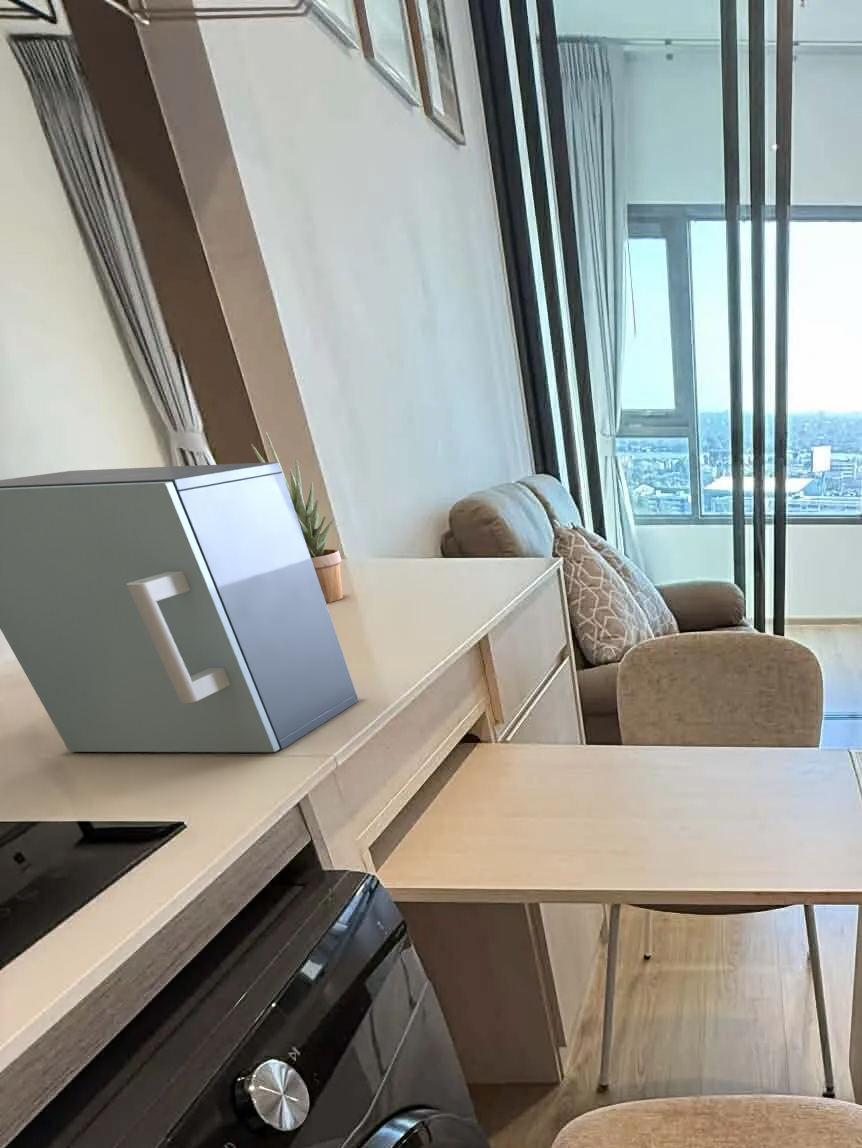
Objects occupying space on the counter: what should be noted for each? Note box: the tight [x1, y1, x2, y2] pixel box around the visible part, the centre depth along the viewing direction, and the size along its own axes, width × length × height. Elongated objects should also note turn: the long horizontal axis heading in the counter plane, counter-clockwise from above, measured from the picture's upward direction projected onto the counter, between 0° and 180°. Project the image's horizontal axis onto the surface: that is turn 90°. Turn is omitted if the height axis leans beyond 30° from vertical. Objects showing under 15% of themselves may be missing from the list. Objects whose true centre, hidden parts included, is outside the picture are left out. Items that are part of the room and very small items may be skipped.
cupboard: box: [0, 461, 359, 750], centre depth 88 cm, size 16×24×24 cm
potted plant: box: [251, 431, 344, 604], centre depth 142 cm, size 10×10×25 cm
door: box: [0, 482, 281, 753], centre depth 79 cm, size 7×24×24 cm, turn 83°
